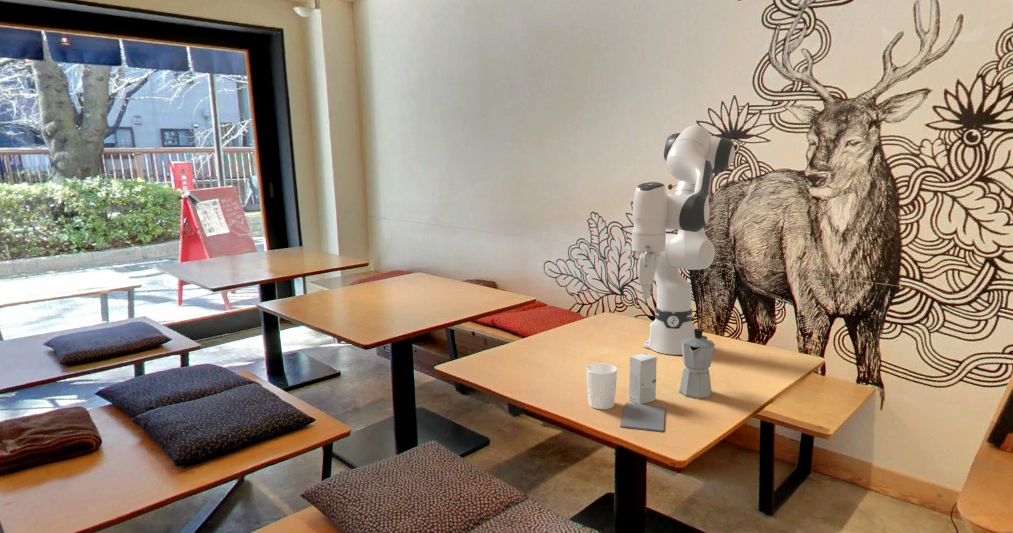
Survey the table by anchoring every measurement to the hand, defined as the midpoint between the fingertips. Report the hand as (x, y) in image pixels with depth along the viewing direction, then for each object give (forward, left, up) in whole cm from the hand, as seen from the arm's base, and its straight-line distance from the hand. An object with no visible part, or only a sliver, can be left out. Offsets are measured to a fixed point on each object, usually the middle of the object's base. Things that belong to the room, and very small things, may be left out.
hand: (646, 294), depth 159 cm
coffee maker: (-2, +14, -27) cm, 31 cm away
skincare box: (+8, 0, -27) cm, 28 cm away
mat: (+19, +1, -27) cm, 33 cm away
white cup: (+14, -10, -27) cm, 32 cm away
